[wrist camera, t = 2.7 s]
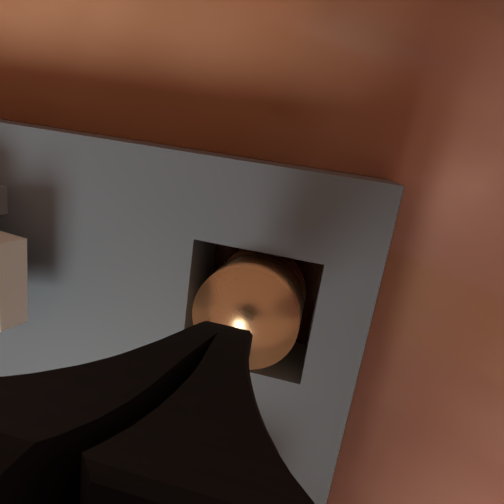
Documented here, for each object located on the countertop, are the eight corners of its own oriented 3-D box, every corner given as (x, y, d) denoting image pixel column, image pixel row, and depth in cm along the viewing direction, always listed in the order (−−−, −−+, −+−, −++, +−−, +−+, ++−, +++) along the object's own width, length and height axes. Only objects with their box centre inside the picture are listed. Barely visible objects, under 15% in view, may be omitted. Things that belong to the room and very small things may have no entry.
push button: (297, 340, 16) (288, 380, 13) (212, 321, 17) (186, 355, 14) (313, 255, 15) (308, 279, 12) (223, 238, 16) (198, 257, 13)
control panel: (303, 551, 19) (292, 676, 15) (-16, 451, 22) (-108, 528, 17) (390, 180, 14) (416, 191, 10) (-31, 114, 17) (-164, 99, 13)
